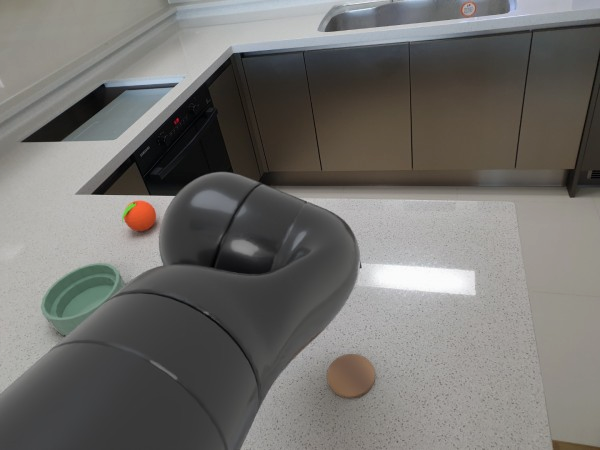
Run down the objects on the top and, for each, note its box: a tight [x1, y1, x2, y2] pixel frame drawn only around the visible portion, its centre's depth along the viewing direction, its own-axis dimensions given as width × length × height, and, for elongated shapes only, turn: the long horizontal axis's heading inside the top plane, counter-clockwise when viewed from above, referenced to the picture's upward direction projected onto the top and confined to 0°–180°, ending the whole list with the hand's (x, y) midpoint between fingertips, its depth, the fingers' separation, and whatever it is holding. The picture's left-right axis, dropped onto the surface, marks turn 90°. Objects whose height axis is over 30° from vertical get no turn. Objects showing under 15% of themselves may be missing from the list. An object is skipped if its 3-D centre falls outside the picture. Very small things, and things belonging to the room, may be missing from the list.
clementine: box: [121, 200, 157, 232], centre depth 103 cm, size 8×7×7 cm
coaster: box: [326, 353, 376, 399], centre depth 65 cm, size 7×7×1 cm
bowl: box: [40, 262, 127, 337], centre depth 86 cm, size 14×14×5 cm
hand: (301, 272), depth 58 cm, fingers closed on cup, 6 cm apart
